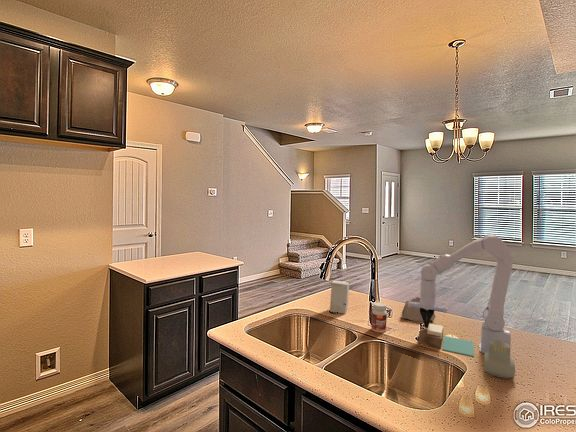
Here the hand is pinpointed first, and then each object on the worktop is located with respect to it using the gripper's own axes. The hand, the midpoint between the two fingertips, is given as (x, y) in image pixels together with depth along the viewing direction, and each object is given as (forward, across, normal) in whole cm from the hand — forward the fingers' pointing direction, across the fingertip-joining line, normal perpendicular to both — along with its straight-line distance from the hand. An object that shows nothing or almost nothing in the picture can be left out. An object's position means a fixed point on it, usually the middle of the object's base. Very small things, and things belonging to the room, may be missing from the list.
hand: (426, 327), depth 137 cm
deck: (+5, +2, -1) cm, 5 cm away
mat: (+5, +12, -1) cm, 13 cm away
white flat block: (+1, +3, -1) cm, 4 cm away
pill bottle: (+5, -19, -1) cm, 20 cm away
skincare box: (+5, -42, +13) cm, 44 cm away
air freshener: (+5, +24, -17) cm, 30 cm away
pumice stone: (+5, -6, +22) cm, 24 cm away
